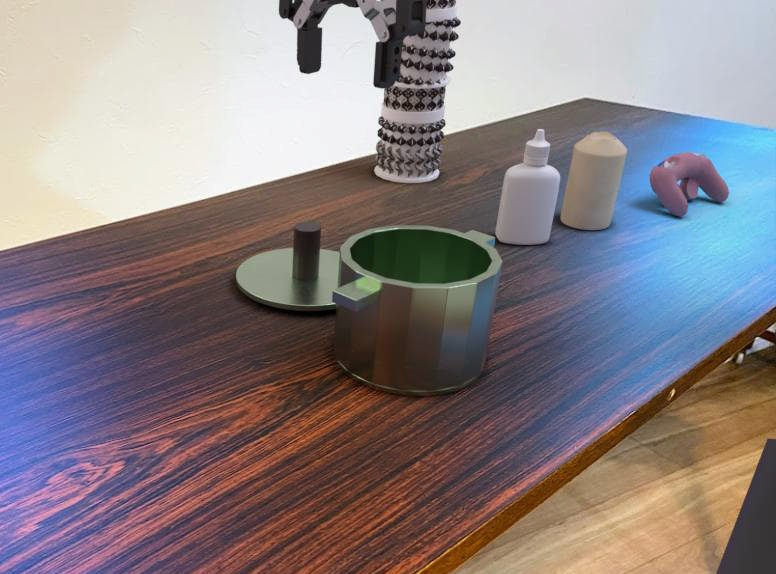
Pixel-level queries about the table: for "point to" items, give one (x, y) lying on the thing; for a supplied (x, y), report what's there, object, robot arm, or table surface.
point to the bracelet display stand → (418, 101)
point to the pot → (415, 308)
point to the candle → (593, 181)
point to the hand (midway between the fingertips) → (345, 79)
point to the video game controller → (686, 181)
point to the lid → (293, 273)
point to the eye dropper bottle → (529, 197)
